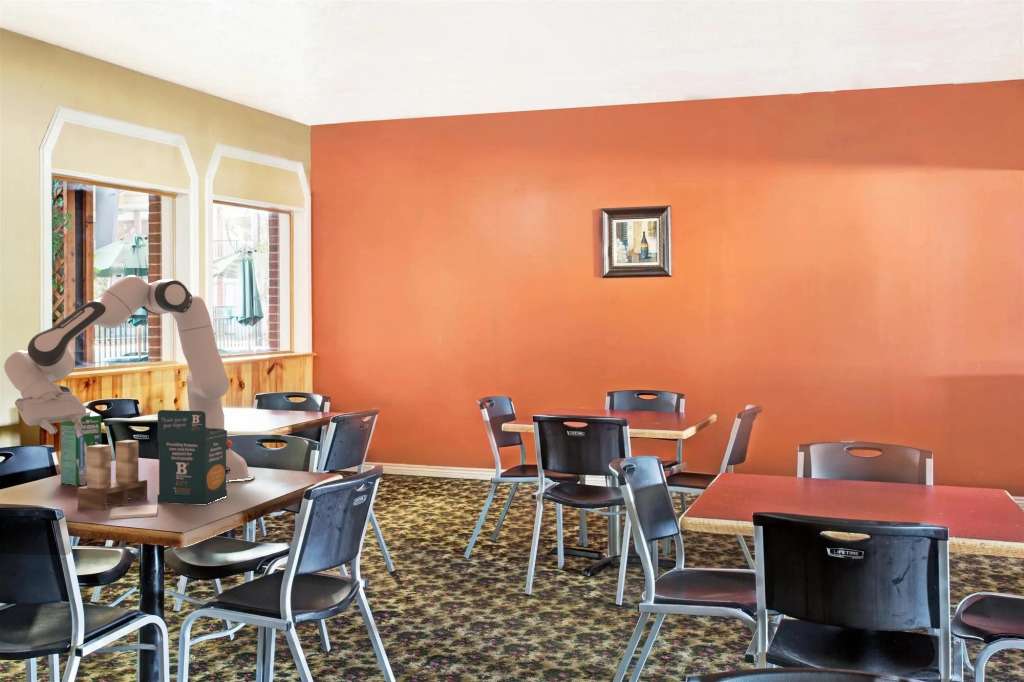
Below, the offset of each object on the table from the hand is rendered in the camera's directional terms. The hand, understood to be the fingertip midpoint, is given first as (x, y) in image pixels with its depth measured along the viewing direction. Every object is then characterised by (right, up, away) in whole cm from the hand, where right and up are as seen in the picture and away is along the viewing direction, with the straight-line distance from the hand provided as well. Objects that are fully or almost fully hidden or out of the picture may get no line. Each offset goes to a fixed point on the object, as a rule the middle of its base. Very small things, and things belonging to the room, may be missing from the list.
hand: (67, 430), depth 262 cm
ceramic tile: (+25, -22, -11) cm, 35 cm away
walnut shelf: (+13, -22, +2) cm, 26 cm away
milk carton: (-13, -21, +35) cm, 43 cm away
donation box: (+35, -22, +10) cm, 43 cm away
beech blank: (+15, -16, +7) cm, 23 cm away
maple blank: (+11, -16, -4) cm, 20 cm away
